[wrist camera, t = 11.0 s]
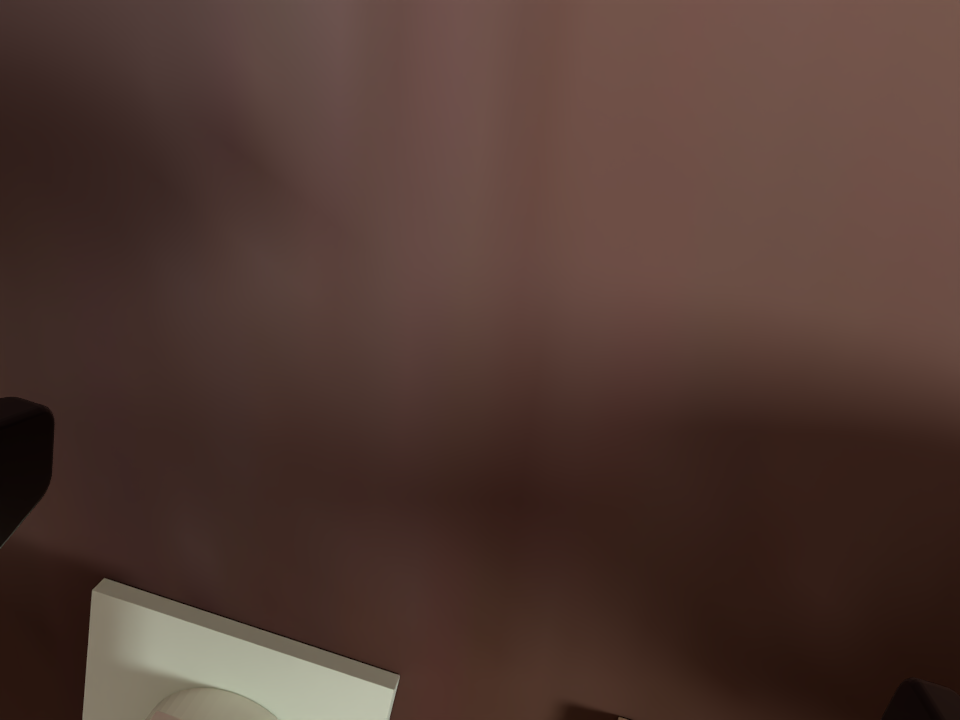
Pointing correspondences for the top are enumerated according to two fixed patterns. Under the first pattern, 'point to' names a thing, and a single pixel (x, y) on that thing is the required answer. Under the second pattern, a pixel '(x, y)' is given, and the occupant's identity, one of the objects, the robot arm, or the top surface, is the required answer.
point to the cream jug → (208, 706)
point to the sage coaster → (215, 663)
